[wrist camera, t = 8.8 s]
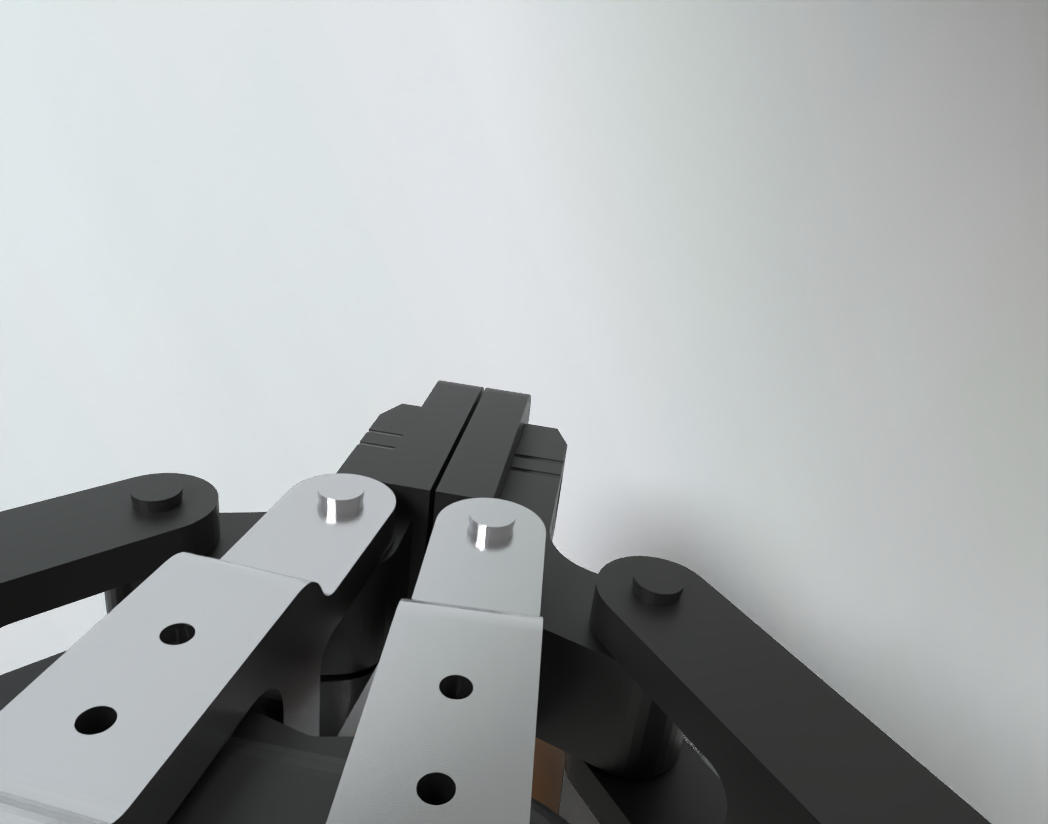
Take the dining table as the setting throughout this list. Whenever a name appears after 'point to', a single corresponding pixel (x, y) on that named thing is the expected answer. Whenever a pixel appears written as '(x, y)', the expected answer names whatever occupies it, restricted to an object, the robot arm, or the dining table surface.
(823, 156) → the dining table surface
